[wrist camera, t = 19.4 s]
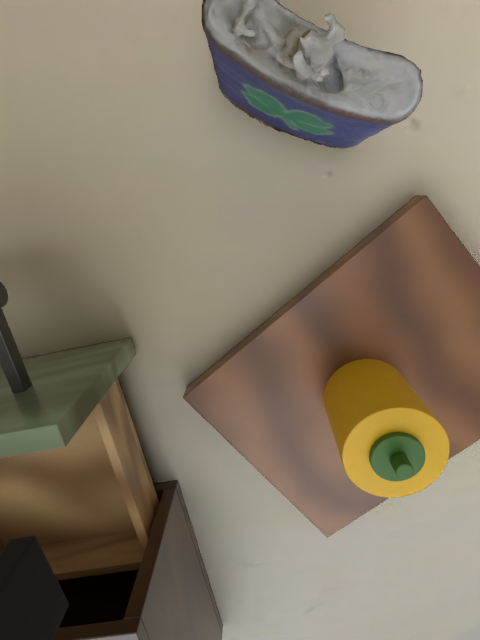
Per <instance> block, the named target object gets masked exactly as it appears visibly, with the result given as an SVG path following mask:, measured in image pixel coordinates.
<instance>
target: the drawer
mask: <svg viewBox="0 0 480 640" xmlns="http://www.w3.org/2000/svg"><path fill="white" fill-rule="evenodd" d="M7 300H8V294H7V290H6V288H5V286H4V285H3V284H2V283H1V282H0V554H1V553H2V551H3V550H4V548H5V547H6V545H7V544H8V542H9V541H10V540H11V539H17V538H23V537H29V536H35V537H36V539H37V541H38V543H39V545H40V547H41V549H42V551H43V553H44V555H45V557H46V559H47V561H48V563H49V565H50V567H51V569H52V571H53V573H54V575H55V577H56V579H57V581H58V580H66V579H73V578H80V577H88V576H95V575H102V574H110V573H117V572H124V571H131V570H139V567H140V564H141V561H142V558H143V555H144V551H145V548H146V545H147V542H148V539H149V535H150V532H151V529H152V526H153V522H154V519H155V516H156V513H157V510H158V506H159V500H158V497H157V494H156V491H155V488H154V485H153V482H152V479H151V476H150V473H149V470H148V467H147V464H146V461H145V458H144V455H143V452H142V449H141V446H140V443H139V440H138V437H137V434H136V431H135V428H134V425H133V422H132V419H131V416H130V413H129V410H128V407H127V404H126V401H125V398H124V395H123V392H122V389H121V386H120V383H119V380H118V377H119V375H120V374H121V373H122V371H123V370H124V369H125V367H126V366H127V365H128V363H129V362H130V361H131V359H132V358H133V357H134V355H135V354H136V352H135V348H134V345H133V342H132V339H131V338H128V339H123V340H118V341H113V342H108V343H103V344H98V345H92V346H87V347H82V348H77V349H72V350H67V351H62V352H57V353H52V354H47V355H41V356H36V357H31V358H26V359H22V358H21V355H20V353H19V350H18V348H17V345H16V343H15V340H14V338H13V335H12V333H11V331H10V328H9V326H8V323H7V321H6V318H5V316H4V313H3V311H2V308H1V307H3V306H5V305H6V303H7Z"/></svg>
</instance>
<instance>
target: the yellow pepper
mask: <svg viewBox="0 0 480 640" xmlns="http://www.w3.org/2000/svg"><path fill="white" fill-rule="evenodd" d="M323 404H324V408H325V411H326V414H327V417H328V420H329V424H330V427H331V430H332V433H333V436H334V439H335V442H336V445H337V448H338V451H339V455H340V458H341V461H342V464H343V467H344V469H345V472H346V474H347V475H348V477H349V478H350V480H351V481H352V482H353V483H354V484H355V485H356V486H357V487H359V488H360V489H362V490H363V491H365V492H367V493H370V494H372V495H376V496H380V497H388V498H395V497H403V496H408V495H411V494H414V493H416V492H419V491H421V490H423V489H424V488H426V487H428V486H429V485H430V484H432V483H433V482H434V481H435V480H436V479H437V478H438V477H439V476H440V474H441V473H442V471H443V470H444V468H445V466H446V464H447V461H448V458H449V452H450V445H449V439H448V436H447V433H446V431H445V429H444V428H443V426H442V425H441V424H440V422H439V421H438V420H437V419H436V417H435V416H434V415H433V414H432V412H431V411H430V410H429V409H428V408H427V406H426V405H425V404H424V403H423V401H422V400H421V399H420V398H419V396H418V395H417V394H416V393H415V391H414V390H413V389H412V388H411V386H410V385H409V384H408V383H407V381H406V380H405V379H404V378H403V377H402V375H401V374H400V373H399V372H398V371H397V370H396V369H395V368H394V367H393V366H391V365H390V364H388V363H386V362H383V361H380V360H376V359H360V360H355V361H352V362H349V363H347V364H345V365H343V366H342V367H340V368H339V369H338V370H337V371H335V372H334V374H333V375H332V376H331V377H330V379H329V380H328V382H327V384H326V386H325V389H324V394H323Z"/></svg>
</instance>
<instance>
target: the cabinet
mask: <svg viewBox="0 0 480 640" xmlns="http://www.w3.org/2000/svg"><path fill="white" fill-rule="evenodd" d="M153 485H154V488H155V491H156V494H157V497H158V500H159V506H158V510H157V513H156V516H155V519H154V522H153V526H152V529H151V532H150V535H149V539H148V542H147V545H146V548H145V551H144V555H143V558H142V561H141V564H140V567H139V570H131V571H124V572H117V573H110V574H102V575H95V576H88V577H80V578H73V579H66V580H58V583H59V585H60V587H61V589H62V591H63V593H64V595H65V597H66V599H67V601H68V603H69V605H68V608H67V610H66V612H65V615H64V617H63V619H62V621H61V624H60V626H59V628H58V630H57V633H56V635H55V637H54V640H222V629H223V625H222V622H221V619H220V616H219V612H218V609H217V606H216V603H215V599H214V596H213V593H212V590H211V587H210V583H209V580H208V577H207V574H206V570H205V567H204V564H203V561H202V558H201V554H200V551H199V548H198V545H197V541H196V538H195V535H194V532H193V529H192V525H191V522H190V519H189V516H188V512H187V509H186V506H185V503H184V500H183V496H182V493H181V490H180V487H179V483H178V481H172V482H166V483H159V484H153Z"/></svg>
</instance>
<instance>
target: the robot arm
mask: <svg viewBox="0 0 480 640" xmlns="http://www.w3.org/2000/svg"><path fill="white" fill-rule="evenodd" d="M68 605H69V603H68V601H67V599H66V597H65V595H64V593H63V591H62V589H61V587H60V585H59V583H58V581H57V579H56V577H55V575H54V573H53V571H52V569H51V567H50V565H49V563H48V561H47V559H46V557H45V555H44V553H43V551H42V549H41V547H40V545H39V543H38V541H37V539H36V537H35V536H29V537H23V538H17V539H11V540H10V541H9V542H8V544H7V545H6V547H5V548H4V550H3V551H2V553H1V554H0V640H54V637H55V635H56V633H57V630H58V628H59V626H60V624H61V621H62V619H63V617H64V615H65V612H66V610H67V608H68Z"/></svg>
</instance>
